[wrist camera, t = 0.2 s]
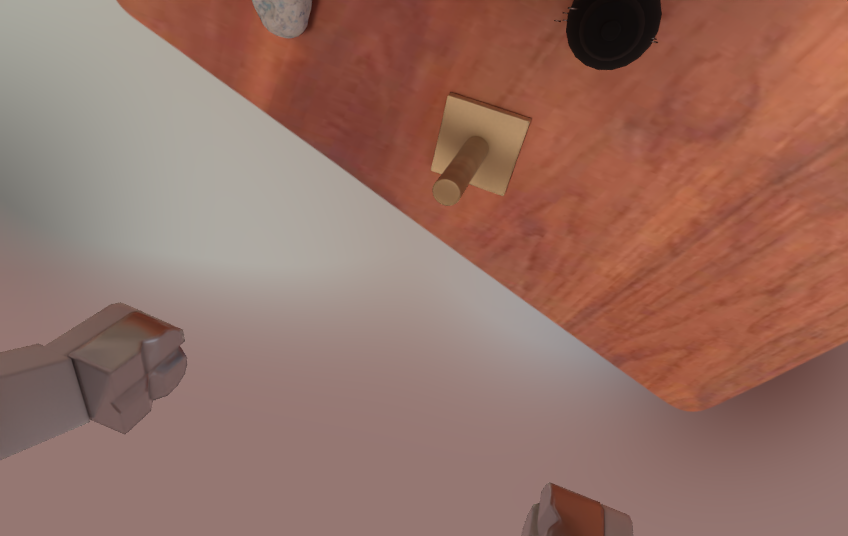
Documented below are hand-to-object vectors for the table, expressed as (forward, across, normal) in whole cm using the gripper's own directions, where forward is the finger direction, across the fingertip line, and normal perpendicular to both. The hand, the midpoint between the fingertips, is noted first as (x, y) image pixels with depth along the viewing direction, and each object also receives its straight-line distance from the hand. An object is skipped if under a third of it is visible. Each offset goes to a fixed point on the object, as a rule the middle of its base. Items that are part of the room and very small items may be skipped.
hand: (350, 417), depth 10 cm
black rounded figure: (+38, -3, -8) cm, 39 cm away
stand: (+40, +4, +6) cm, 40 cm away
